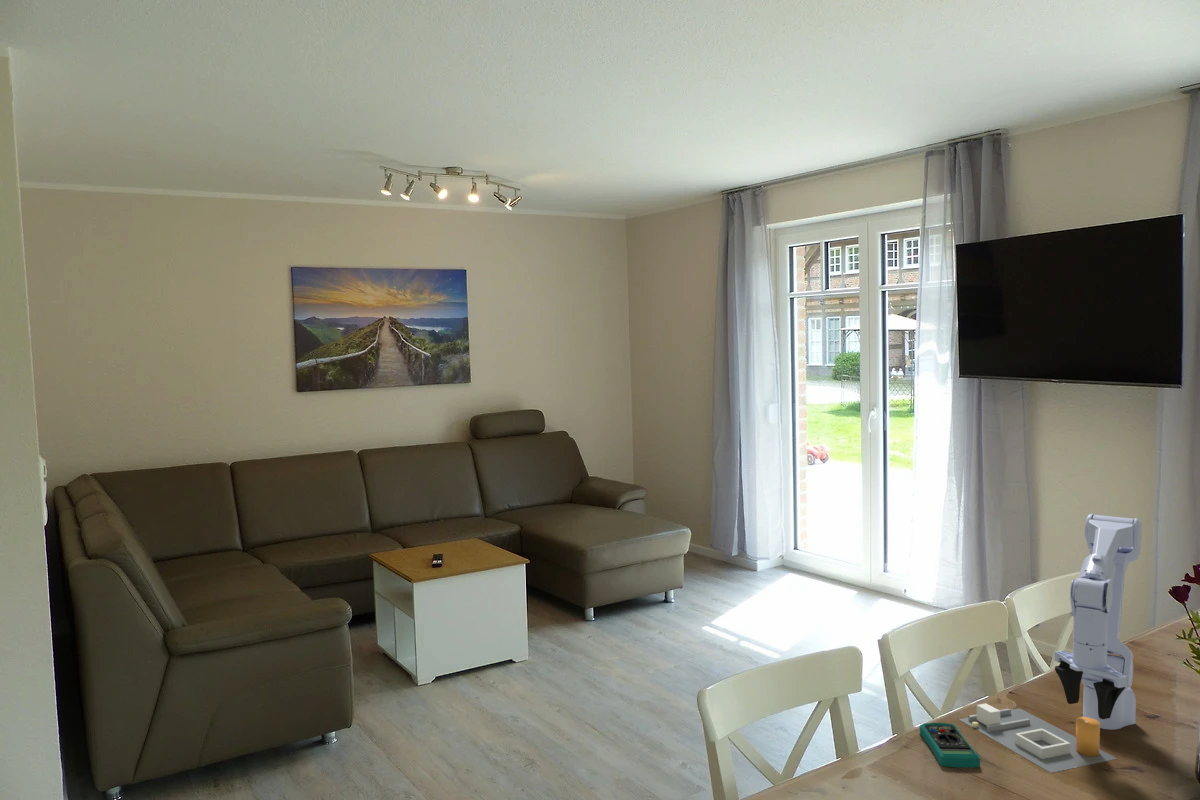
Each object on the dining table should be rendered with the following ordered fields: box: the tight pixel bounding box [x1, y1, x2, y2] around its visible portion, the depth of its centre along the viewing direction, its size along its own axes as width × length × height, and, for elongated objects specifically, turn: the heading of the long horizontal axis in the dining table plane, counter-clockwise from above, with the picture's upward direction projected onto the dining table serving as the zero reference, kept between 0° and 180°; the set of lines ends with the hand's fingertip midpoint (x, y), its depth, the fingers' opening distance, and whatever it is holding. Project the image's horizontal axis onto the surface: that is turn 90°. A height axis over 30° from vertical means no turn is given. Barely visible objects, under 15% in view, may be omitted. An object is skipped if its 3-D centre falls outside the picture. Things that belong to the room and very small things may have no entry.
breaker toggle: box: [976, 702, 1000, 726], centre depth 178 cm, size 2×4×3 cm, turn 18°
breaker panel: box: [958, 707, 1118, 774], centre depth 172 cm, size 16×24×3 cm, turn 18°
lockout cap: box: [1075, 716, 1101, 757], centre depth 166 cm, size 4×4×6 cm
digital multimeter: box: [919, 722, 981, 769], centre depth 170 cm, size 7×15×3 cm, turn 176°
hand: (1088, 710), depth 166 cm, fingers open, 7 cm apart
